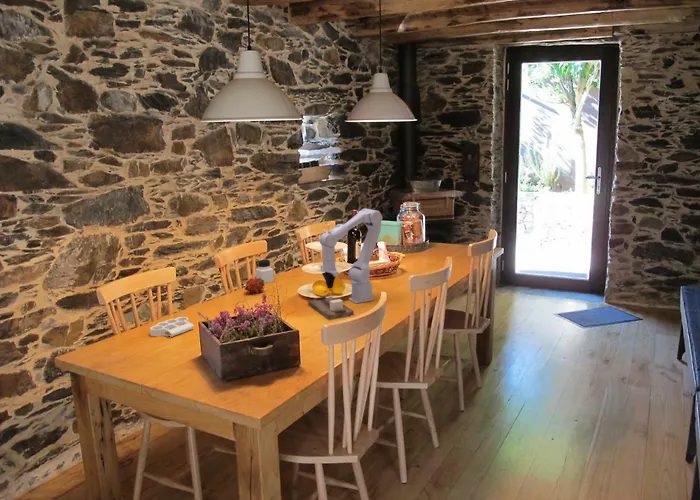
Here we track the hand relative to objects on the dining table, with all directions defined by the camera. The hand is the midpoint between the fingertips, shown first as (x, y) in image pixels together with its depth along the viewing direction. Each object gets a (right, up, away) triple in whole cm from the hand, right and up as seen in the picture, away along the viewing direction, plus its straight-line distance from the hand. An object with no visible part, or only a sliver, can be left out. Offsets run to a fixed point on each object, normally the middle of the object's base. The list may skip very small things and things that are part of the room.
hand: (330, 287), depth 278 cm
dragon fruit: (-39, -4, +28) cm, 48 cm away
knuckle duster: (-66, -17, -22) cm, 72 cm away
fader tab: (+3, -9, -8) cm, 13 cm away
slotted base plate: (0, -10, -2) cm, 10 cm away
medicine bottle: (-36, 0, +47) cm, 59 cm away
